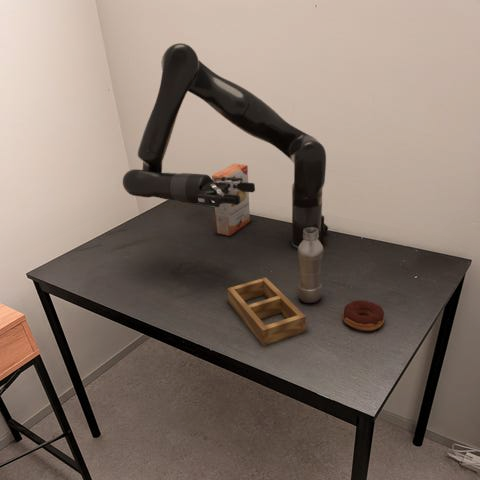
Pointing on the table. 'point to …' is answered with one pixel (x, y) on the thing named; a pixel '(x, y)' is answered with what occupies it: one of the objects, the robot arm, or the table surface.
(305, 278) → the grey metal bottle
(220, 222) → the cracker box
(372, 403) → the table surface
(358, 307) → the donut
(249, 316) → the caddy
